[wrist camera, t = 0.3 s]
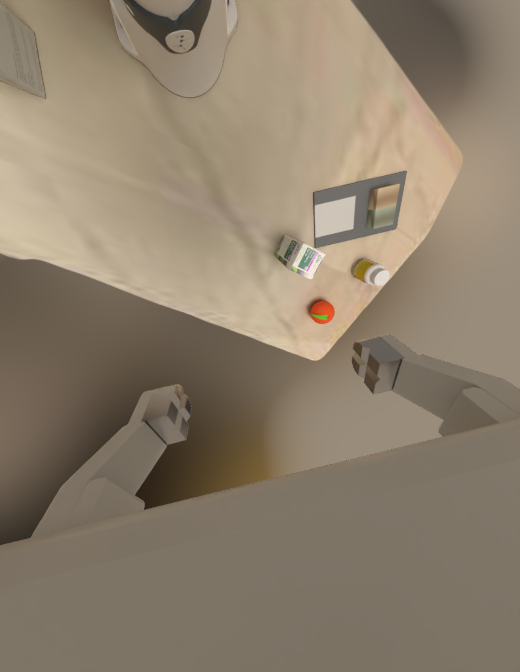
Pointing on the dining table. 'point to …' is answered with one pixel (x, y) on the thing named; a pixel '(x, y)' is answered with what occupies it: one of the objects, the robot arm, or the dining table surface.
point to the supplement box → (19, 54)
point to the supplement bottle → (370, 272)
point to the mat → (350, 210)
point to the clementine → (322, 312)
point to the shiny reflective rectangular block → (382, 206)
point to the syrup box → (299, 256)
